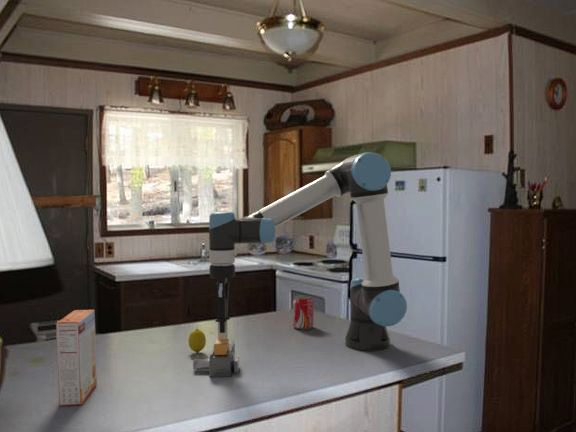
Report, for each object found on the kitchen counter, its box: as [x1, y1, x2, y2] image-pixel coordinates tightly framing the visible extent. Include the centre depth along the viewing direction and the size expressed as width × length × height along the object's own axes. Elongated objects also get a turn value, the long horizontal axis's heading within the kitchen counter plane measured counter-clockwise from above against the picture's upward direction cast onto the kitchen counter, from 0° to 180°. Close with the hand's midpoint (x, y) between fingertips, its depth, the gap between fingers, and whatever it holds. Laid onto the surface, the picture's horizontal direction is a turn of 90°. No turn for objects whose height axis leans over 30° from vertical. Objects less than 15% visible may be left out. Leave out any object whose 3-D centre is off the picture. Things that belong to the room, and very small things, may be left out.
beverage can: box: [292, 294, 315, 331], centre depth 205 cm, size 8×8×12 cm
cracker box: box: [55, 309, 98, 407], centre depth 136 cm, size 14×6×21 cm, turn 5°
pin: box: [192, 354, 240, 374], centre depth 155 cm, size 13×6×3 cm, turn 91°
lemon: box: [188, 328, 207, 354], centre depth 172 cm, size 6×6×8 cm
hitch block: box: [208, 340, 236, 378], centre depth 157 cm, size 6×14×6 cm, turn 1°
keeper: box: [213, 338, 230, 355], centre depth 154 cm, size 4×6×3 cm, turn 1°
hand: (222, 342), depth 158 cm, fingers closed
